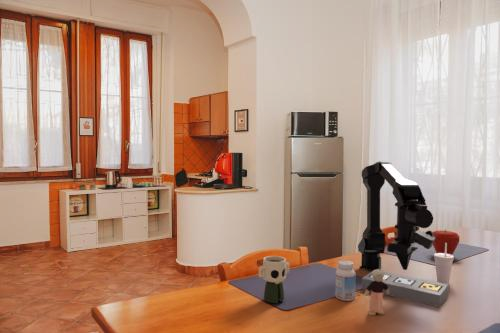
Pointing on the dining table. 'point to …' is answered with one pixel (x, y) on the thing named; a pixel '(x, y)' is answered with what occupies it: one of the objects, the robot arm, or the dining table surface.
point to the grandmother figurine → (376, 293)
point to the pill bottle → (345, 281)
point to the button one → (384, 277)
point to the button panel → (411, 289)
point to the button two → (404, 281)
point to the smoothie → (443, 266)
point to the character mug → (274, 277)
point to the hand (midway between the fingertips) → (405, 269)
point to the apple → (445, 241)
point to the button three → (431, 287)
